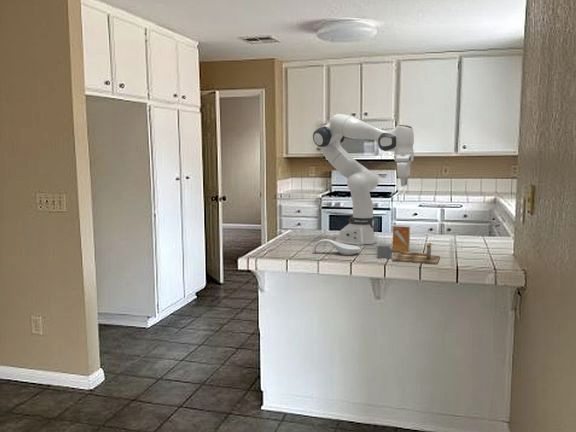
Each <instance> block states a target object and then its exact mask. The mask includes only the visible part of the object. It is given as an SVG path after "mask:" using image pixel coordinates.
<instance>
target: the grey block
mask: <svg viewBox="0 0 576 432" xmlns="http://www.w3.org/2000/svg"><path fill="white" fill-rule="evenodd" d="M376 247H377V249H376V250H377V251H376V259H382V258H386V259H385V260H391V258H392V254H393V253H392V252H393V244H382V243H379V244H378V245H377V246H376Z"/></svg>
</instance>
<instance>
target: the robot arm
mask: <svg viewBox="0 0 576 432" xmlns="http://www.w3.org/2000/svg"><path fill="white" fill-rule="evenodd" d="M414 136H415V133H414V128H413V127H412V126H410V125H406V124H397V125H396V126H395V127H394V128H393V129H390V130H388V131H387V130H384V129H381V128H377V127H376V126H373V125H371V124H369V123H367V122H366V121H363V120H361V119H358V118H357V117H355V116H351V115H348V114H343V113H336V114H335V115H333V116H332V117H331V119H330V122H329V123H327V124H324V125H323V126H320V127H318V128H316V129H315V131H314V132H313V133H312V140H313V142H314V144H315V145H316V146H317V147H320V148H323V149H322V154H323V156H324V157H325V159H326V160H327V161H328V163H330V165H331V166H332V167H333V168H334V169H335V170H336V171H337V172H338V173H339V174H340V175H341V176H343V177H345V178H346V179H347V180H346V185H347V188H348V190H349V192H350V195H351V200H352V216H350V217H349V219H348V222H349V223H348V224H347V225H345V226H344V227H342V228H341V229H340V231H339V235H338V237H337V238H335V239H334V241H336V242H339V243H343V244H348V245H354V246H361V245H362V246H363V245H372V244H375V243H376V238H375V233H374V226H375V219H374V214H373V213H374V203H373V200H372V198H371V193H370V192H371V191H373V190H375V189H376V188H377V187H378V184H379V178H378V176H377V174H375V173H373V172H372V171H371V170H369V169H368V168H367V167H365V166H364V165H362V163H359V162H358V161H357V160H356V159H354V157H353V156H351V155H350V153H349V152H348V151H347V150H346V149H344V148H343V147H342V144H341V143H343V142H344V141H345V138H349V139H353V140H373V141H377V145H378V148H379V149H380V150H381V151H384V152H395V155H394V156H395V157H394V158H395V159H394V160H395V162H396V171H397V177H398V178H399V179H400V180H399V181H400V186H401V187H405V186H407V185H408V179H409V176H411V165H412V162H414V157H415V156H414V155H415V154H414V153H415V150H414V143H415V139H414V138H415V137H414Z"/></svg>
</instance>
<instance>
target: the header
mask: <svg viewBox="0 0 576 432" xmlns="http://www.w3.org/2000/svg"><path fill="white" fill-rule="evenodd" d="M440 259H441V255H432V243H431V242H427V244H426V252H419V251H418V252H416V251H415V252H412V251H409V252H402V251H401V252H398V253H397V252H396V254H395V256H393V258H392V259H391V261H392V262H395V261H396V262H397V263H398V262H399V263H409V262H412V263H413V264H423V263H425V264H427V265H438V264H439V261H440ZM425 264H424V265H425Z"/></svg>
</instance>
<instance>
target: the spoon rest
mask: <svg viewBox="0 0 576 432" xmlns="http://www.w3.org/2000/svg"><path fill="white" fill-rule="evenodd" d="M322 243H327V244H330V245H332V247H334V248H335V250H336V251H337V252H338V253H340V254H341V255H343V256H353V255H355V254H357V253H358V252H360V250H361V247H360V246H358V245H354V244H345V243H339V242H336V241H335V240H332V239H327V238H325V239H324V238H323V239H319V240H318V241H316V243H314V245H313V247H312V252H311V253H312V254H315V253H316V251H317V247H318V245H320V244H322Z"/></svg>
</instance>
